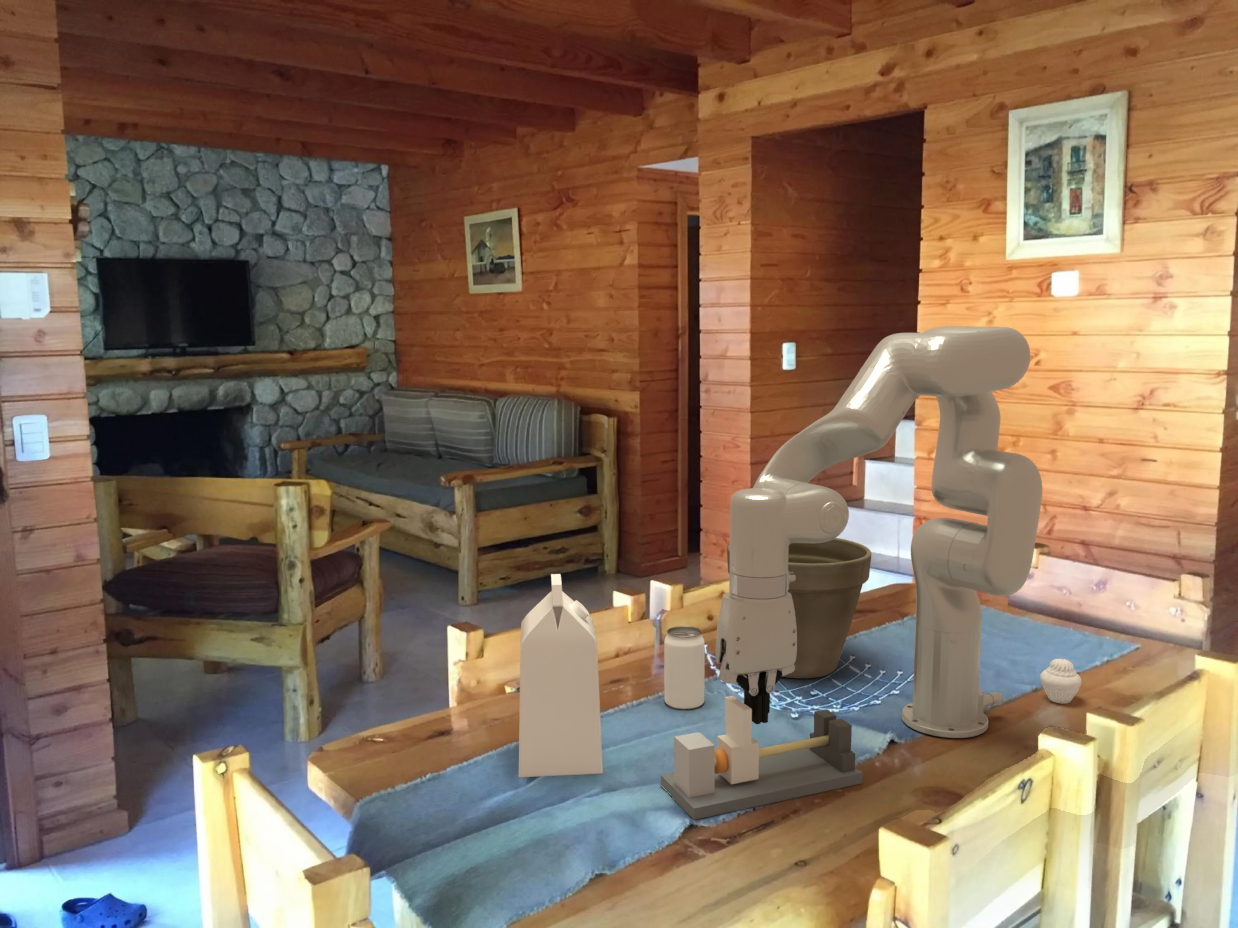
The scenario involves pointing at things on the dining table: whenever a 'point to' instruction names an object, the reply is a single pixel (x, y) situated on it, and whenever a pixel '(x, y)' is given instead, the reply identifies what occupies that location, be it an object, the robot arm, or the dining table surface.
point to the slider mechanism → (762, 770)
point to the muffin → (1060, 681)
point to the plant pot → (824, 600)
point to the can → (684, 667)
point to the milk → (559, 689)
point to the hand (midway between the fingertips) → (756, 719)
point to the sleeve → (739, 743)
